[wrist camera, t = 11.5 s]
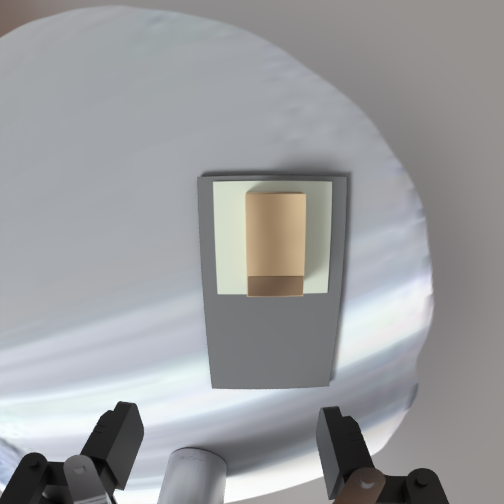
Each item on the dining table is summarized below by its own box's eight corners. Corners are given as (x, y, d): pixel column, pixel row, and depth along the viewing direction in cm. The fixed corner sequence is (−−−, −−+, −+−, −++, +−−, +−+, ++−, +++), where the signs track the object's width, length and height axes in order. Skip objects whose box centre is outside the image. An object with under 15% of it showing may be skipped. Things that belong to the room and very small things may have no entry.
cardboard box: (300, 191, 28) (306, 194, 25) (298, 284, 30) (303, 296, 27) (246, 191, 28) (245, 194, 25) (248, 284, 30) (247, 297, 27)
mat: (328, 383, 34) (329, 387, 33) (212, 385, 34) (211, 389, 34) (345, 176, 28) (347, 176, 27) (198, 177, 28) (196, 177, 27)
